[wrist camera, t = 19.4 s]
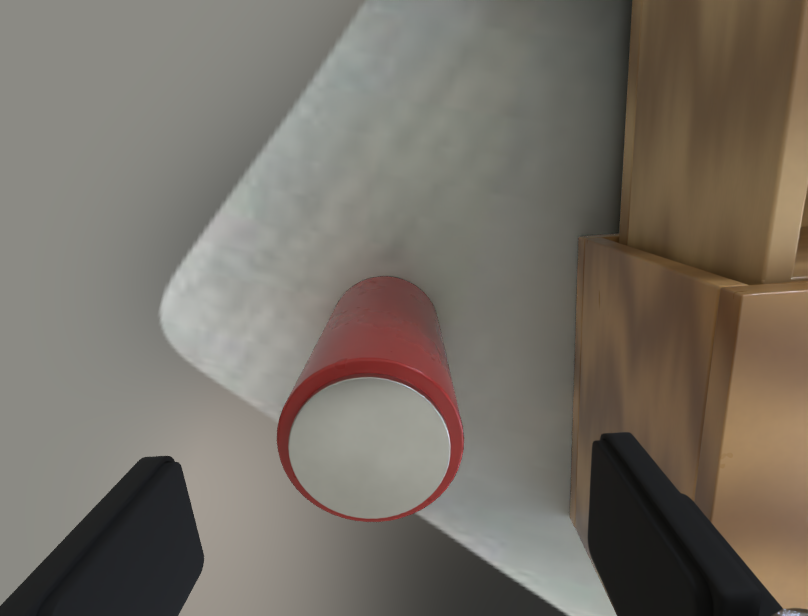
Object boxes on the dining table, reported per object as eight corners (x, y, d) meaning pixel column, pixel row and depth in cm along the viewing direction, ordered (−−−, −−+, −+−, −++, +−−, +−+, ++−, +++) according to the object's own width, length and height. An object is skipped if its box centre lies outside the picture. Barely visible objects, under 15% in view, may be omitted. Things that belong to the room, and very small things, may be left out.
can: (325, 280, 22) (258, 370, 12) (435, 272, 21) (462, 356, 12) (338, 380, 23) (288, 536, 13) (441, 373, 23) (469, 525, 13)
